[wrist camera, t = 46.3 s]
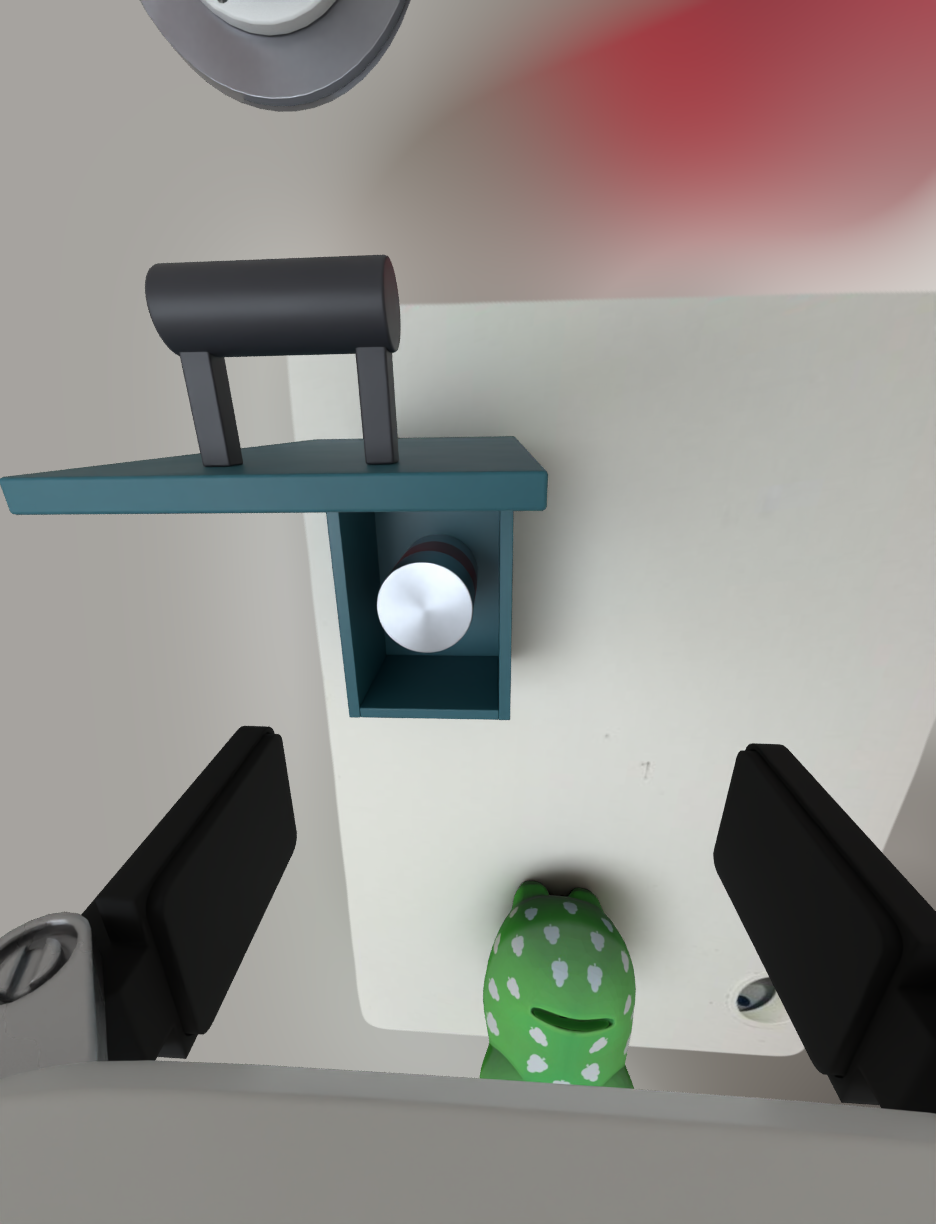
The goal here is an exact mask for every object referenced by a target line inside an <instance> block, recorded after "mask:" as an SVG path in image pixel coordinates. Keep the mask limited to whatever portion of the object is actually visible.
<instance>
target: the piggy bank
mask: <svg viewBox="0 0 936 1224" xmlns="http://www.w3.org/2000/svg"><path fill="white" fill-rule="evenodd" d="M635 990H636V988H635V976H634V969H633V965H632V961H631V958H630V955H629V952H628V950H627V947H626V944H625V942H624V940H623V938H622V937H621V935H620V933H619V932H618V930H617V929H616V927H615V926H614V924H613V923H612V921H611V920H610V919H609V918H608V917H607V916H606V915H605V914H604V912H603V910H602V908H601V905H600V903H599V901H598V899H597V898H596V896H595V895H594V894H592V892H591V891H589V890H587V889H583V888H575V889H574V890H572V892H571V893H570V895H569V896H568V897H565V896H555V895H549V894H548V891H547V889H546V888H545V886H543V885H542V884H541V883H539V882H536V881H526V882H524V883H522V884H521V886H520V887H519V889H518V890H517V892H516V894H515V896H514V900H513V906H512V910H511V912H510V913H509V915H508V916H507V918H506V919H505V920H504V922H503V924H502V926H501V928H500V930H499V932H498V934H497V936H496V939H495V942H494V944H493V947H492V950H491V953H490V956H489V960H488V965H487V970H486V975H485V981H484V988H483V1003H484V1013H485V1019H486V1024H487V1030H488V1036H489V1046H488V1049H487V1052H486V1055H485V1057H484V1060H483V1064H482V1067H481V1072H480V1079H495V1080H510V1081H526V1082H540V1083H555V1084H570V1085H585V1086H599V1087H614V1088H629V1089H634V1087H633V1085H632V1081H631V1079H630V1076H629V1074H628V1071H627V1069H626V1066H625V1060H626V1055H627V1050H628V1045H629V1040H630V1035H631V1030H632V1021H633V1013H634V1005H635Z"/></svg>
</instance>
